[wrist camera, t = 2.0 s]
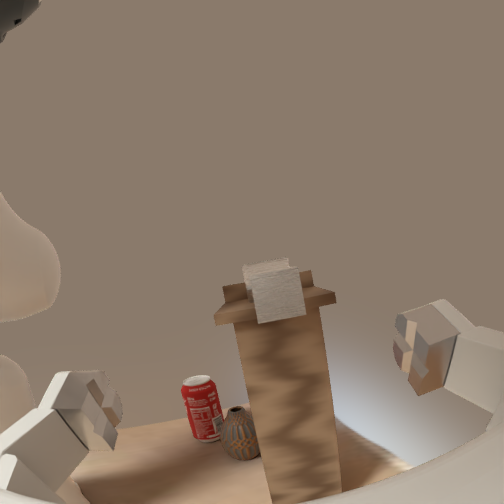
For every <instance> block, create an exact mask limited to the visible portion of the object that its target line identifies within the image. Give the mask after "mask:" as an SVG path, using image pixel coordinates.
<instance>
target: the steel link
mask: <svg viewBox="0 0 504 504" xmlns="http://www.w3.org/2000/svg"><path fill="white" fill-rule="evenodd" d="M242 268H243V274H244V279H245V285H246V290H247V296H248V301H249V303H254V304H255V309H256V314H257V320H258V324H260V323H266V322H271V321H276V320H282V319H287V318H292V317H297V316H302V315H306V309H305V303H304V298H303V292H302V286H301V281H300V275H299V270H298V267H289V262H288V258H287V257H285V258H280V259H274V260H267V261H262V262H257V263H252V264H247V265H243V266H242Z"/></svg>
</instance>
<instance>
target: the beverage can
mask: <svg viewBox="0 0 504 504" xmlns="http://www.w3.org/2000/svg"><path fill="white" fill-rule="evenodd" d="M181 393H182V396H183V400H184V404H185V408H186V412H187V415H188V419H189V422H190V426H191V429H192V433H193V436H194V437H195V438H196V439H198V440H200V441H202V442H213V441H217V440H219V439H220V430H221V426H222V424H223V422H224V418H223V414H222V410H221V406H220V402H219V398H218V393H217V389H216V385H215V383H214V382H213V381H212V380H210V377H209V376H205V375H200V376H194V377H190V378H188V379H185V380H184V381H183V386H182V389H181Z"/></svg>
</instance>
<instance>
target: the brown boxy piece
mask: <svg viewBox="0 0 504 504" xmlns="http://www.w3.org/2000/svg"><path fill="white" fill-rule="evenodd" d="M299 275H300V281H301V286H302V292H303V298H304V303H305V309H306V315H302V316H297V317H292V318H287V319H282V320H276V321H271V322H266V323H260V324H258V320H257V314H256V309H255V304H254V303H249V301H248V296H247V290H246V285H245V283H240V284H233V285H228V286H223V292H224V297H225V304H224V305H223V306H222V307H221V308H220V309H219V310H218V311H217V312H216V313H215V314H214V319H215V324H216V326H217V325H223V324H229V323H233V324H234V328H235V334H236V339H237V344H238V349H239V354H240V359H241V364H242V369H243V374H244V379H245V383H246V388H247V393H248V398H249V402H250V407H251V412H252V416H253V421H254V426H255V430H256V435H257V439H258V444H259V448H260V452H261V457H262V461H263V466H264V470H265V474H266V478H267V483H268V487H269V491H270V495H271V499H272V504H297V503H302V502H306V501H311V500H315V499H319V498H324V497H328V496H331V495H335V494H339V493H342V485H341V474H340V463H339V453H338V443H337V434H336V425H335V417H334V409H333V400H332V393H331V385H330V378H329V370H328V363H327V357H326V350H325V343H324V337H323V330H322V324H321V318H320V312H319V307H320V306H324V305H329V304H334V303H336V297H335V292H332V291H329V290H325V289H322V288H318V287H315V286H314V284H313V279H312V274H311V270H309V271H303V272H299Z"/></svg>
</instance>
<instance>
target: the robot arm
mask: <svg viewBox="0 0 504 504" xmlns="http://www.w3.org/2000/svg"><path fill="white" fill-rule="evenodd" d="M40 3H41V0H0V43H1V42H3V40H4V38H5V36H6V33H7V32H8V31H10V30H12V29H13V28H15V27H17V26H19V25H20V24H22V23H23V22H24V21H25V20H26V19H27V18H28V17H29V16H30V15H31V14H32V13H33V12H34V11H35V10H36V9H37V8H38V7H39V6H40ZM60 280H61V269H60V262H59V258H58V255H57V253H56V251H55V248H54V246H53V245H52V243H51V242H50V240H49V239H48V238H47V237H46V236H45V235H44V234H43V233H42V232H41V231H39V230H37V229H35V228H34V227H32V226H30V225H29V224H27V223H26V222H24V221H23V220H22V219H21V218H20V217H19V216H18V215H16V214H15V212H14V211H13V210H12V209H11V208H10V206H9V205H8V203H7V202H6V200H5V199H4V197H3V196H2V193H1V191H0V322H7V321H14V320H20V319H22V318H25V317H28V316H30V315H33V314H36V313H38V312H41V311H43V310H45V309H48V308H50V307H51V305H52V304H53V302H54V300H55V299H56V296H57V293H58V290H59V287H60ZM395 327H396V329H397V330H398V331H399V332H398V334H397V336H396V337H395V338H394V344H393V350H394V356H395V359H396V362H397V364H398V366H399V367H400V369H401V370H402V371H404V372H407V373H409V378H408V381H409V383H410V384H411V386H412V387H413V389H414V390H415V392H416V393H417V395H418V396H420V395H422V394H425V393H428V392H431V391H433V390H436V389H438V388H441V387H443V386H444V388H446V389H447V390H449V391H451V392H453V393H455V394H457V395H458V396H460V397H462V398H464V399H466V400H468V401H470V402H472V403H473V404H475V405H477V406H479V407H481V408H483V409H485V410H487V411H489V412H491V413H492V414H493V415H492V417H491V419H490V421H489V423H488V425H487V427H486V430H485V431H486V432H485V433H483V434H481V435H480V436H478V437H476V438H474V439H472V440H471V441H469V442H467V443H466V444H463V445H461V446H459V447H458V448H456V449H454V450H452V451H450V452H448V453H446V454H444V455H442V456H439V457H437V458H435V459H433V460H431V461H428V462H426V463H424V464H422V465H419V466H417V467H415V468H412V469H410V470H407V471H405V472H402V473H400V474H397V475H394V476H392V477H389V478H386V479H384V480H381V481H378V482H375V483H372V484H369V485H366V486H363V487H360V488H356V489H353V490H350V491H346V492H343V493H339V494H335V495H331V496H328V497H324V498H319V499H315V500H311V501H306V502H302V503H297V504H504V333H503V332H500V331H496V330H492V329H489V328H486V327H482V326H478V327H475V326H474V325H473V324H472V323H471V322H469V320H467V319H466V318H465V317H464V316H463V315H462V314H461V313H460V312H459V311H458V310H456V308H454V307H453V306H452V305H451V304H450V303H449V302H448V301H447V300H444V299H441V300H438V301H435V302H432V303H430V304H428V305H425V306H422V307H419V308H416V309H412V310H410V311H406V312H403V313H400V314H398V315H397V317H396V321H395ZM109 381H110V380H109V378H108V377H107V375H106V374H105V372H104V371H101V370H86V371H64V372H58V373H56V374H55V376H54V378H53V380H52V382H51V383H50V385H49V388H48V389H47V391H46V393H45V395H44V397H43V399H42V401H41V403H40V405H39V407H38V409H37V408H36V405H35V402H34V399H33V396H32V392H31V389H30V386H29V382H28V379H27V376H26V374H25V373H24V371H23V370H22V368H21V367H20V366H19V365H18V364H16V363H15V362H14V361H13V360H11V359H9V358H7V357H5V356H3V355H1V354H0V504H90V502H89V501H88V500H87V499H86V498H85V497H84V496H83V494H82V493H81V489H80V487H79V486H78V484H77V483H76V482H74V481H73V480H72V478H71V477H70V474H71V473H72V472H73V471H74V470H75V468H76V467H77V466H78V465H79V464H80V462H81V461H82V460H83V459H84V458H85V457H86V455H87V454H88V453H89V451H114V447H115V443H116V439H117V435H118V433H117V431H116V429H115V427H116V426H117V425H118V424H119V423H120V422H121V419H122V414H123V413H122V403H121V400H120V397H119V396H118V394H117V392H116V391H115V390H113V389H112V388H110V387H109V386H108V385H109Z"/></svg>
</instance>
